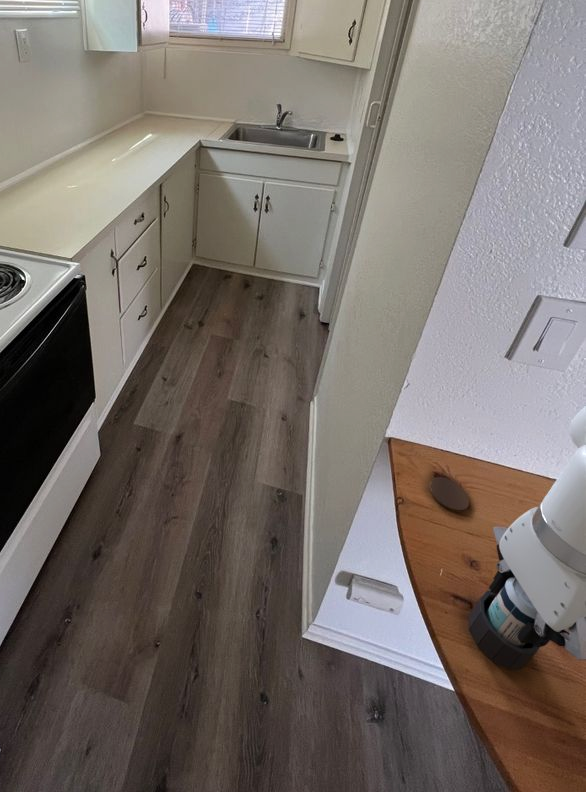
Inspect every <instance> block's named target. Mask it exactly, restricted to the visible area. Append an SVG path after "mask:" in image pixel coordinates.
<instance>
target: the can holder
mask: <svg viewBox="0 0 586 792" xmlns="http://www.w3.org/2000/svg"><path fill="white" fill-rule="evenodd" d="M496 596H497V594H493V593H492V592H491V591H490V590H485V592H484V593H483V594H482V595H481V596H480V598H479V599H478V600H477V602H476V603H475V605H474V606H473V608H472V609H471V611H470V613H468V616H467V618H468V620H467V621H468V631H469V632H470V635H471V636H472V639H473V641H474V643H475V645H476V646H477V648H478V649H479V650H480V651H481V652H482V653H483V654H484V655H485V656H486V657H487V659H488V660H490V661H491V662H492V663H494V664H496V665H498V666H500V667H502V668H503V669H505V670H509V671H512V670H513V671H515V670H522V669H523V668H524V667H525V666H526V665H527V664H528V663H529V661H531V659H532V658H533V657H534V656H535V655H536V654H537V653H538V651H539V650H540V648H541V647H534V646H533V644H532V643H526V644H525V645H524V646H523V647H522V648H519V647H517V646H515V645H513V644H511V643H509V642H507V641H505V640H504V639H503V638H502V637H501V636H500V635H499V634H498V633H497V632H496V631H495V630H494V629H493V628H492V626H491V624H490V622H489V620H488V619H487V617H486V615H485V612H486V610H487V609H488V607H489V606H490V604H491V603H492V602H493V600H494V599H495V597H496Z"/></svg>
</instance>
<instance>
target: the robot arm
mask: <svg viewBox="0 0 586 792" xmlns="http://www.w3.org/2000/svg"><path fill="white" fill-rule="evenodd" d="M568 433H569V437H570V439H571V441H572V442H573V444H574V445H575V446H576V448H577V449H576V450H575V452H574V453H573V455H572V456H571V457H570V458H569V461H568V462H567V464H566V465H565V467H564V468H563V469H562V471H561V472H560V473H559V475H558V477H557V478H556V480H555V481H554V483H553V485H552V486H551V488H550V489H549V491H548V492H547V493H546V495H545V496H544V498H543V500H541V502H540V504H539V505H538V506H534V507H532V508H530V509H528V510H527V511H526V512H524V513H523V514H521V515H520V516H519V517H518V518H516V519H515V520H514V522H512V523H511V525H510V526H509V527H507V526H492V527H493V529H492V530H493V534H494V537H495V541H496V543H497V544H496V552H497V557H498V561H497V562H496V564H495V566H496V569H497V572H496V573H495V575H494V576H493V580H492V581H491V583H490V585H489V586H488V589H489V591H491V592H492V593H493V594H498V593H499V592H500V590H501V589H502V587H503V586H504V584H505V583H506V581H507V580H508V579H509V578H511V577H516V579H517V580H518V582H519V583H520V585H521V587H522V588H523V590H524V591H525V593H526V594H527V596H528V598H529V599H530V601H531V602H532V604H533V605H534V607H535V608H536V610H537V615H536V619H535V622H528V623H527V624H526V625H525V627H524V628H523V629H522V630H521V631H520V633H519V634H518V639H519V641H520V643H532V644H533V646H534V647H540V648H542V647H545V646H547V644H548V643H550V642H553V644H556V645H557V646H559V647H563V648H564V649H565V650H566V651H567V652H568V653H569V654H571V655H572V656H573V657H574V658H575V659H577V660H578V661H586V405H585V406H583V407H581V409H580V410H579V411H578V412H577V413H576V414H575V415H574V417H573V418H572V419H571V422H570V423H569V428H568ZM567 630H568V631H567Z"/></svg>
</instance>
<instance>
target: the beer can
mask: <svg viewBox="0 0 586 792" xmlns="http://www.w3.org/2000/svg"><path fill="white" fill-rule="evenodd" d="M485 615H486V617H487V619H488V620H489V622H490V624H491V626H492V628H493V629H494V630H495V631H496V632H497V633H498V634H499V635H500V636H501V637H502V638H503V639H504V640H505V641H507V642H509V643H511V644H513V645H515V646H517V647H519V648H522V647H523V646H524V645H525V644H526V643H520V641H519V639H518V634H519V633H520V631H521V630H522V629H523V628H524V627H525V625H526V624H527V623H528V622H535V619H536V615H537V610H536V608H535V607H534V605H533V604H532V602H531V601H530V599H529V598H528V596H527V594H526V593H525V591H524V590H523V588H522V587H521V585H520V583H519V582H518V580H517V579H516V577H511V578H509V579H508V580H507V581H506V583H505V584H504V586H503V587H502V589H501V590H500V592H499V593H498V594H497V596H496V597H495V599H494V600H493V602H492V603H491V604H490V606H489V607H488V609H487V610H486V612H485Z"/></svg>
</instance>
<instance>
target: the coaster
mask: <svg viewBox="0 0 586 792" xmlns="http://www.w3.org/2000/svg"><path fill="white" fill-rule="evenodd" d="M428 488H429V493H430V494H431V497H432V498H433V499H434V500H435V502H437V503H438V504H439V505H440V506H442V507H443V508H444V509H446V510H449V511H451V512H455V513H461V512H462V513H463V512H465V511H466V510H467V509H468V507H469V505H470V498H469V495H468V494H467V492H466V491H465V489H464V488H463V487H462V486H461V485H460V484H459V483H457V482H455V481H454V480H452V479H450V478H447V477H443V476H436V477H434V478H433V479H432V480H430V483H429V487H428Z"/></svg>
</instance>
